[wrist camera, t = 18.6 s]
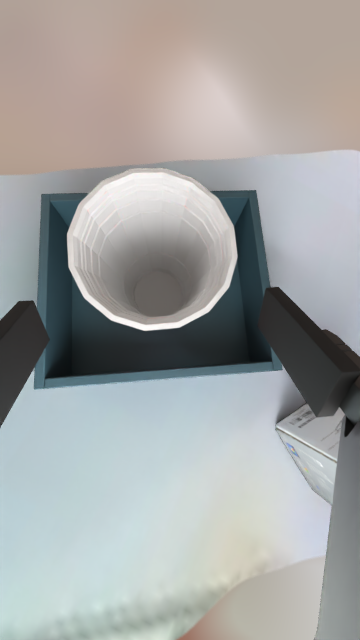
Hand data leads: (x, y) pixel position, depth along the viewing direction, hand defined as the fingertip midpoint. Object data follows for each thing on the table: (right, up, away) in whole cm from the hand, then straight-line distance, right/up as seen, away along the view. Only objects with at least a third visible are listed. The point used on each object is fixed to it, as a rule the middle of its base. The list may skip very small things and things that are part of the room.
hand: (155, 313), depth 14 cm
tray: (-1, +2, +13) cm, 13 cm away
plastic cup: (-1, +2, +13) cm, 13 cm away
